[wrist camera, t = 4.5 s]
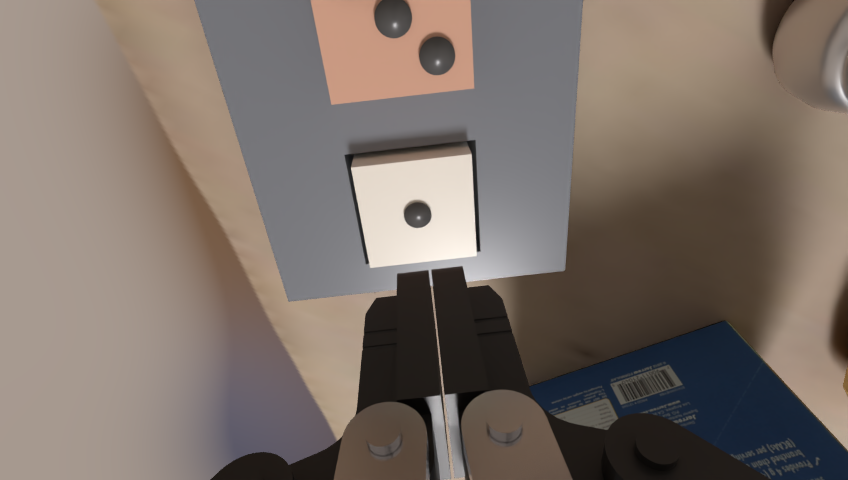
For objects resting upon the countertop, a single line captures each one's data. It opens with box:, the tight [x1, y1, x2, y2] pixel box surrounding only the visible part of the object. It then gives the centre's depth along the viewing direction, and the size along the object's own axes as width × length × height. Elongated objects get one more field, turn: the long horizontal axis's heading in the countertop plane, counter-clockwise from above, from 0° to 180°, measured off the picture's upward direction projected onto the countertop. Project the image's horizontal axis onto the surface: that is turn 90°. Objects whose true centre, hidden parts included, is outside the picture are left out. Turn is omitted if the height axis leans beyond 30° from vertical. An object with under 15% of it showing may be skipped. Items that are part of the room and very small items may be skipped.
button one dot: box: [351, 141, 477, 268], centre depth 22 cm, size 5×5×5 cm
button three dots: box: [311, 0, 474, 105], centre depth 17 cm, size 5×5×5 cm
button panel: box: [194, 0, 583, 302], centre depth 19 cm, size 25×14×4 cm, turn 6°
